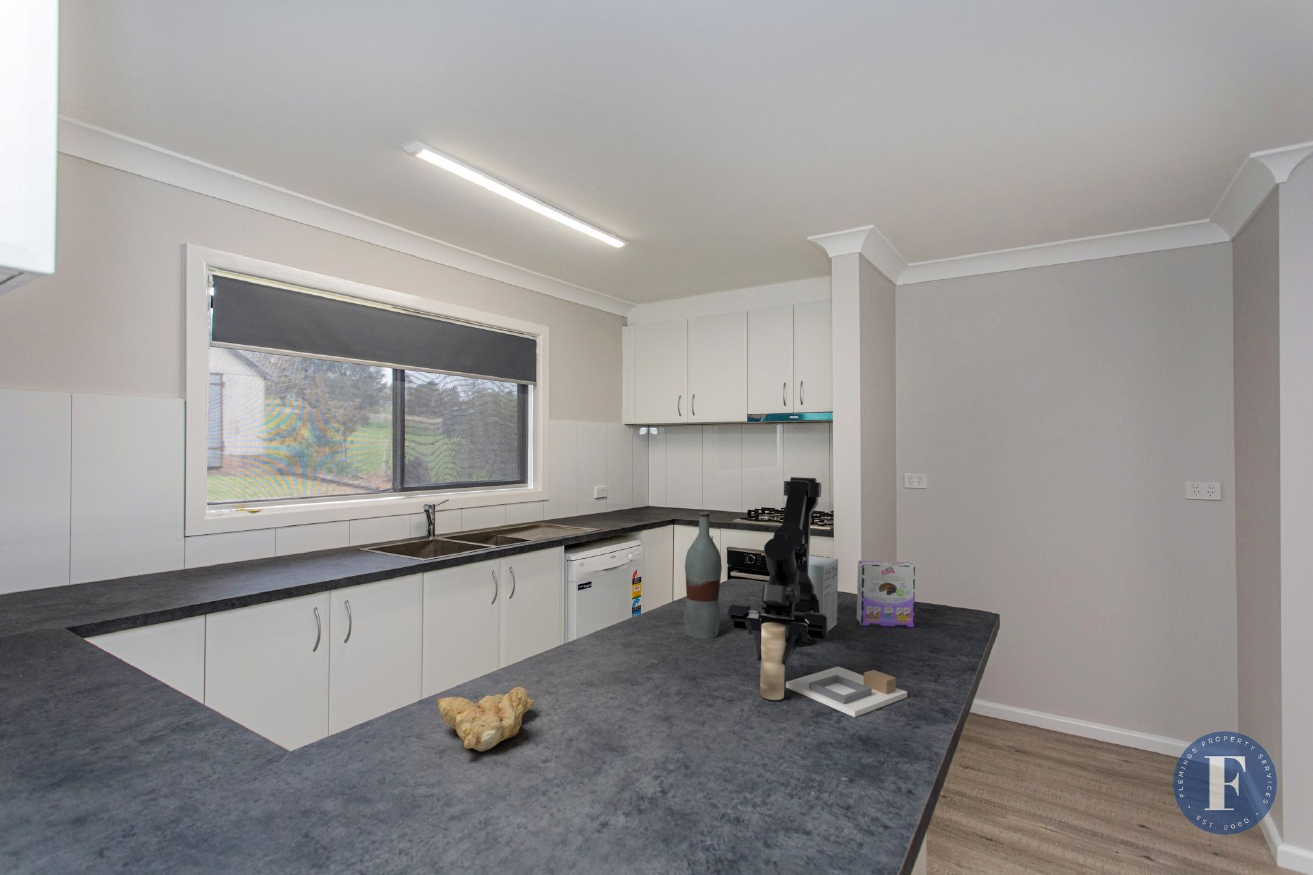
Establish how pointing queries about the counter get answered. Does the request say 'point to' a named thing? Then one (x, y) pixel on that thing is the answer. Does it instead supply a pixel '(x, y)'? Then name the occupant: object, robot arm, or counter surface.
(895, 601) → the candy box
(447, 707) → the ginger root
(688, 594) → the bottle
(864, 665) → the counter surface
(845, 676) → the plate
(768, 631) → the wooden column
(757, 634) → the robot arm
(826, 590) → the supplement box
